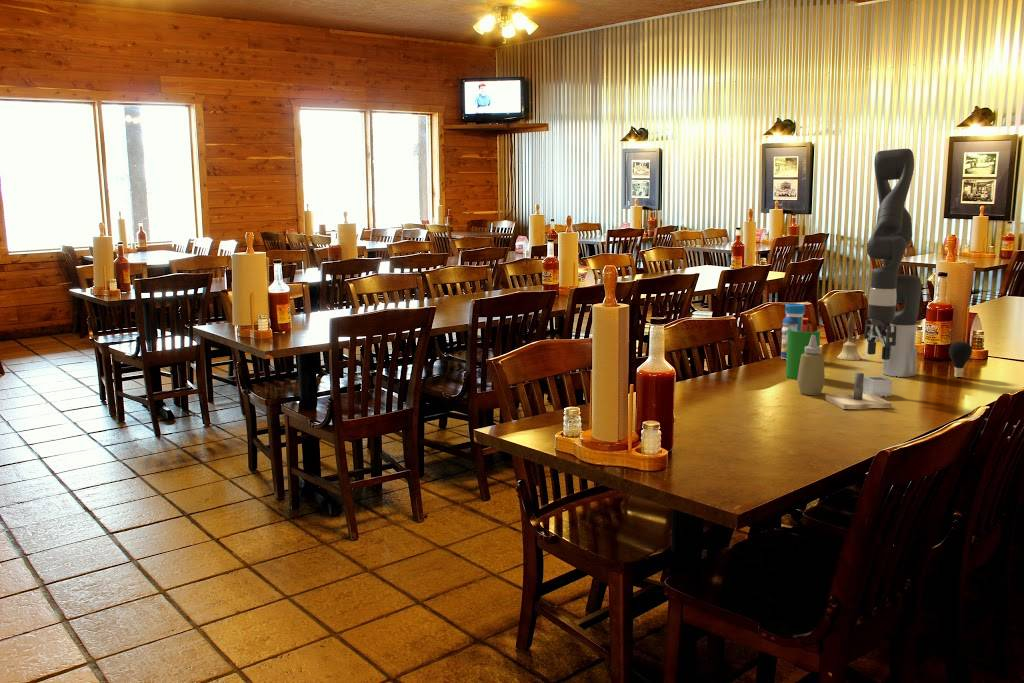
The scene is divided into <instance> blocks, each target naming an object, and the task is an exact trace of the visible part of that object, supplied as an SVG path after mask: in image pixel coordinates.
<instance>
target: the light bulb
mask: <svg viewBox="0 0 1024 683" xmlns="http://www.w3.org/2000/svg"><path fill="white" fill-rule="evenodd" d="M948 353H949V357H950V359H951V361H952V363H953V365H954V373H953V374H954V375H953V376H954V377H955V378H957V377H962V378H963V377H964V367H965V365H966V364H967V362H968V361H969V360H970V358H971V356H972V354H973V349H972V345H970V344H969V343H968V342H966V341H960V340H958V341H955V342H952V344H951V345H950V346H949V349H948Z"/></svg>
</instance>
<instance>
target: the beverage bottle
mask: <svg viewBox="0 0 1024 683" xmlns="http://www.w3.org/2000/svg"><path fill="white" fill-rule="evenodd" d="M784 308H785V309H784V312H785V317H783V319H782V322H781V323H782V328H781V333H782V334H781V352H780V353H781V354H780V358H781V359H782V358H783V359H786V357H787V336H788V329H791V330H792V331H798V332H801V326H802V318H805V317H804V315H805V313H806V312H805V311H806V305H805V304H803V303H793V302H792V303H786V304H785V307H784ZM783 359H782V360H783Z"/></svg>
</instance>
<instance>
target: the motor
mask: <svg viewBox="0 0 1024 683" xmlns="http://www.w3.org/2000/svg"><path fill="white" fill-rule="evenodd" d="M808 326H809V317H804V318H802V326H801V332H798V331H792V330H791V329H788V336H787V357H786V360H785V361H786V362H785V365H786V366H785V377H786V378H788V377H789V378H788V379H792V378H793V379H794V380H797V378H798V372H799V366H800V359H801V355H802V354H803V353H805V346H809V342H810V339H811V335H816V341H817V346H818V347H821V346H820V344H821V329H817V330H815V331H808Z"/></svg>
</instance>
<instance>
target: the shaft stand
mask: <svg viewBox="0 0 1024 683" xmlns="http://www.w3.org/2000/svg"><path fill="white" fill-rule="evenodd" d="M864 377H865V373H863V372H855V374H854V382H853V383H854V386H853V393H841V394H825V395H824V396H825V397H824V400H825V399H826V400H825V401H826V402H828V401H829V403H830V402H831V404H832V403H833V404H832V405H834V404H835V405H834V406H836V405H837V406H836V407H838V406H839V407H838V408H840V407H841V408H843V409H858V410H868V409H867V408H889V409H892V407H893V406H892V402H890V401H888V400H886V399H883V397H877V396H875V395H873V394H871V393H866V394H864V393H863V382H864ZM841 408H840V409H841ZM843 409H842V410H843Z"/></svg>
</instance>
